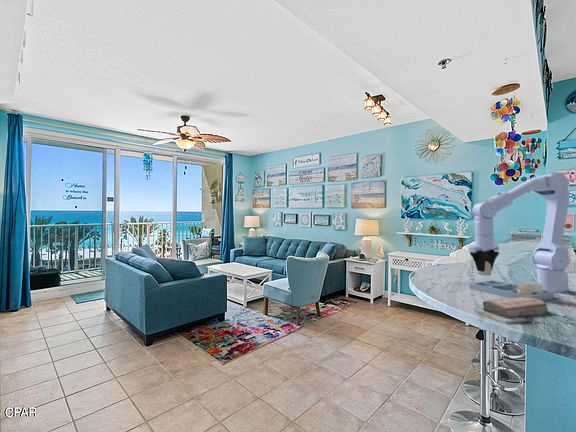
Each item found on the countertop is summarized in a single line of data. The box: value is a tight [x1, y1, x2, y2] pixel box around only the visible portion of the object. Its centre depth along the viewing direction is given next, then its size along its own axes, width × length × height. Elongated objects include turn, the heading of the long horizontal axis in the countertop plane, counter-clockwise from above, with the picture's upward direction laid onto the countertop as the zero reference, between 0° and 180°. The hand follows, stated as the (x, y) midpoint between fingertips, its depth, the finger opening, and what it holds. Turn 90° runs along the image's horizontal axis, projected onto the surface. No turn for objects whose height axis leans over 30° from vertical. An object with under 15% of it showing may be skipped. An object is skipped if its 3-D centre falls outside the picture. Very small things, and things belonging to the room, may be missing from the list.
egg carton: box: [468, 279, 555, 301], centre depth 102 cm, size 14×20×3 cm
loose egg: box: [477, 262, 492, 276], centre depth 106 cm, size 4×4×5 cm
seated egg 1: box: [517, 282, 532, 296], centre depth 95 cm, size 4×4×5 cm
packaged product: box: [473, 297, 548, 325], centre depth 82 cm, size 18×5×10 cm
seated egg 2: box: [527, 281, 543, 293], centre depth 97 cm, size 4×4×5 cm
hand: (484, 270), depth 106 cm, fingers closed on loose egg, 4 cm apart
